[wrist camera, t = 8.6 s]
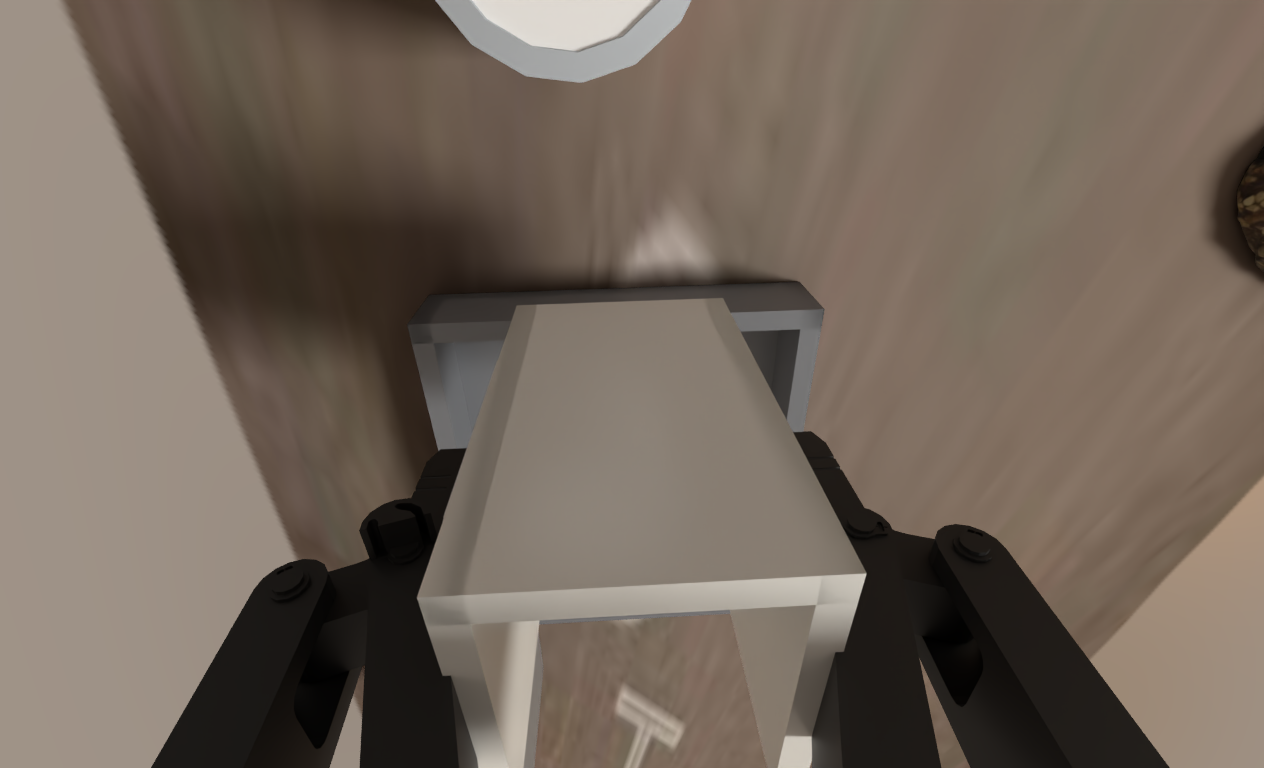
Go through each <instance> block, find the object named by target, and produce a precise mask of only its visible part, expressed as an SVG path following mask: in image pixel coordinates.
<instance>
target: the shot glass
mask: <svg viewBox="0 0 1264 768" xmlns="http://www.w3.org/2000/svg"><path fill="white" fill-rule="evenodd" d="M435 1H436V2H437V3H438V4H439V6H440V7H441V8H442V9H443V10H444V12H445V13H446V14H447V15H448V17H449V18H450V19H451V20H452V21H453V23H454V24H455V25H456V26H457V27H458V29H459V30H460V31H461V32H462V34H463V35H464V36H465V37H466V38H467V40H468V41H469V42H470V43H471V45H473V46H475V47H477V48H478V49H480V50H482V51H483V52H485V53H487V54H489V55H490V56H492V57H494V58H495V59H497V60H499V61H500V62H502V63H504V64H506V65H507V66H509V67H511V68H512V69H514V70H516V71H518V72H519V73H521V74H523V75H524V76H528V77H537V78H545V79H554V80H562V81H571V82H580V83H583V82H586V81H589V80H592V79H595V78H597V77H600V76H603V75H606V74H609V73H612V72H615V71H618V70H621V69H623V68H626V67H629V66H632V65H635V64H636V63H637V62H639V61H640V60H641V59H642V58H643V57H644V56H645V55H646V54H647V53H648V52H649V51H650V50H651V49H652V48H653V47H655V46H656V45H657V44H658V43H659V42H660V41H661V40H662V39H663V38H664V37H665V36H666V35H667V34H668V33H669V32H670V31H672V30H673V29H674V28H675V27H676V26H677V25H678V24H679V23H680V22H681V20H682V18H683V16H684V14H685V12H686V10H687V8H688V6H689V4H690V2H691V0H435Z"/></svg>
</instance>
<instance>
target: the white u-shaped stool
mask: <svg viewBox="0 0 1264 768" xmlns="http://www.w3.org/2000/svg"><path fill="white" fill-rule="evenodd" d="M866 574H867V573H866V571H865V569H864V567H863V565H862V564H861V562H860V560H859V558H858V556H857V554H856V552H855V550H854V548H853V546H852V544H851V542H850V541H849V539H848V537H847V535H846V533H845V531H844V529H843V527H842V525H841V523H840V521H839V519H838V518H837V516H836V514H835V512H834V510H833V508H832V506H831V504H830V502H829V500H828V498H827V497H826V495H825V493H824V491H823V489H822V487H821V485H820V483H819V481H818V479H817V477H816V475H815V474H814V472H813V470H812V468H811V466H810V464H809V462H808V460H807V458H806V456H805V454H804V452H803V451H802V449H801V447H800V445H799V443H798V441H797V439H796V437H795V435H794V433H793V431H792V429H791V428H790V426H789V424H788V422H787V420H786V418H785V416H784V414H783V412H782V410H781V408H780V407H779V405H778V403H777V401H776V399H775V397H774V395H773V393H772V391H771V389H770V387H769V385H768V384H767V382H766V380H765V378H764V376H763V374H762V372H761V370H760V368H759V366H758V364H757V362H756V361H755V359H754V357H753V355H752V353H751V351H750V349H749V347H748V345H747V343H746V341H745V340H744V338H743V336H742V334H741V332H740V330H739V328H738V326H737V324H736V322H735V320H734V318H733V317H732V315H731V313H730V311H729V309H728V307H727V305H726V303H725V301H724V299H723V298H708V299H681V300H653V301H625V302H597V303H570V304H542V305H517V306H516V309H515V312H514V315H513V318H512V321H511V324H510V327H509V330H508V332H507V335H506V338H505V341H504V344H503V347H502V350H501V353H500V356H499V359H498V362H497V365H496V368H495V370H494V373H493V376H492V379H491V382H490V385H489V388H488V391H487V394H486V397H485V400H484V403H483V406H482V408H481V411H480V414H479V417H478V420H477V423H476V426H475V429H474V432H473V435H472V438H471V441H470V444H469V447H468V449H467V452H466V455H465V458H464V461H463V464H462V467H461V470H460V473H459V476H458V479H457V482H456V485H455V487H454V490H453V493H452V496H451V499H450V502H449V505H448V508H447V511H446V514H445V517H444V520H443V523H442V525H441V528H440V531H439V534H438V537H437V540H436V543H435V546H434V549H433V552H432V555H431V558H430V561H429V564H428V566H427V569H426V572H425V575H424V578H423V581H422V584H421V587H420V590H419V593H418V596H417V600H418V603H419V606H420V609H421V612H422V615H423V618H424V621H425V624H426V627H427V630H428V633H429V636H430V639H431V642H432V645H433V648H434V651H435V654H436V657H437V660H438V663H439V666H440V669H441V672H442V675H443V676H450V675H451V677H452V681H453V684H454V687H455V690H456V693H457V696H458V699H459V703H460V706H461V709H462V712H463V715H464V718H465V721H466V725H467V728H468V731H469V734H470V737H471V740H472V743H473V747H474V750H475V753H476V756H477V760H478V768H523V767H524V758H525V749H526V740H527V730H528V721H529V712H530V703H531V694H532V684H533V675H534V666H535V657H536V647H537V638H538V629H539V620H556V619H574V618H592V617H610V616H628V615H645V614H663V613H681V612H699V611H717V610H730V614H731V618H732V622H733V626H734V631H735V635H736V639H737V643H738V647H739V652H740V656H741V660H742V664H743V669H744V673H745V677H746V681H747V685H748V690H749V694H750V698H751V702H752V706H753V711H754V715H755V719H756V723H757V728H758V732H759V736H760V740H761V744H762V749H763V753H764V757H765V761H766V766H767V768H809V767H810V764H811V761H812V733H813V730H814V726H815V723H816V719H817V715H818V712H819V708H820V705H821V701H822V698H823V694H824V691H825V687H826V684H827V680H828V676H829V673H830V669H831V666H832V662H833V659H834V655H835V652H844V649H845V645H846V642H847V638H848V635H849V632H850V628H851V625H852V621H853V618H854V615H855V611H856V608H857V605H858V601H859V598H860V594H861V591H862V588H863V584H864V581H865V577H866Z"/></svg>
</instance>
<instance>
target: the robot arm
mask: <svg viewBox="0 0 1264 768" xmlns="http://www.w3.org/2000/svg"><path fill="white" fill-rule="evenodd" d="M497 362H498V361H497ZM497 362H496V365H497ZM496 365H495V368H496ZM495 368H494V370H495ZM493 373H494V371H493ZM492 376H493V374H492ZM492 376H491V379H492ZM491 379H490V382H491ZM490 382H489V385H490ZM489 385H488V388H489ZM488 388H487V391H488ZM487 391H486V394H487ZM486 394H485V397H486ZM485 397H484V400H485ZM484 400H483V403H484ZM483 403H482V406H483ZM482 406H481V408H482ZM481 408H480V411H481ZM480 411H479V414H480ZM479 414H478V417H479ZM478 417H477V420H478ZM477 420H476V423H477ZM476 423H475V426H476ZM475 426H474V429H475ZM474 429H473V432H474ZM473 432H472V435H473ZM793 433H794V435H795V437H796V439H797V441H798V443H799V445H800V447H801V449H802V451H803V452H804V454H805V456H806V458H807V460H808V462H809V464H810V466H811V468H812V470H813V472H814V474H815V475H816V477H817V479H818V481H819V483H820V485H821V487H822V489H823V491H824V493H825V495H826V497H827V498H828V500H829V502H830V504H831V506H832V508H833V510H834V512H835V514H836V516H837V518H838V519H839V521H840V523H841V525H842V527H843V529H844V531H845V533H846V535H847V537H848V539H849V541H850V542H851V544H852V546H853V548H854V550H855V552H856V554H857V556H858V558H859V560H860V562H861V564H862V565H863V567H864V569H865V571H866V573H867V574H866V577H865V581H864V584H863V588H862V591H861V594H860V598H859V601H858V605H857V608H856V611H855V615H854V618H853V621H852V625H851V628H850V632H849V635H848V638H847V642H846V645H845V649H844V652H835V655H834V659H833V662H832V666H831V669H830V673H829V676H828V680H827V684H826V687H825V691H824V694H823V698H822V701H821V705H820V708H819V712H818V715H817V719H816V723H815V726H814V730H813V733H812V768H941V764H940V759H939V754H938V749H937V744H936V739H935V734H934V729H933V724H932V719H931V714H930V709H929V704H928V699H927V694H926V690H925V685H924V680H923V675H922V670H921V665H920V660H921V662H922V664H923V666H924V669H925V671H926V673H927V675H928V677H929V679H930V681H931V684H932V686H933V688H934V690H935V692H936V694H937V696H938V699H939V701H940V703H941V705H942V707H943V709H944V712H945V714H946V716H947V718H948V720H949V722H950V724H951V727H952V729H953V731H954V733H955V735H956V737H957V740H958V742H959V744H960V746H961V748H962V750H963V752H964V755H965V757H966V759H967V761H968V763H969V765H970V767H971V768H1169V766H1168V765H1167V764H1166V762H1165V761H1164V760H1163V758H1162V757H1161V756H1160V754H1159V753H1158V752H1157V750H1156V749H1155V748H1154V746H1153V745H1152V744H1151V742H1150V741H1149V740H1148V738H1147V737H1146V736H1145V734H1144V733H1143V732H1142V730H1141V729H1140V727H1139V726H1138V725H1137V724H1136V722H1135V721H1134V719H1133V718H1132V717H1131V715H1130V714H1129V713H1128V711H1127V710H1126V709H1125V707H1124V706H1123V705H1122V703H1121V702H1120V701H1119V699H1118V698H1117V697H1116V695H1115V694H1114V693H1113V691H1112V690H1111V689H1110V687H1109V686H1108V685H1107V683H1106V682H1105V681H1104V679H1103V678H1102V677H1101V675H1100V674H1099V673H1098V671H1097V670H1096V669H1095V667H1094V666H1093V665H1092V663H1091V662H1090V661H1089V659H1088V658H1087V656H1086V655H1085V654H1084V652H1083V651H1082V650H1081V648H1080V647H1079V646H1078V644H1077V643H1076V642H1075V640H1074V639H1073V638H1072V636H1071V635H1070V634H1069V632H1068V631H1067V630H1066V628H1065V627H1064V626H1063V624H1062V623H1061V622H1060V620H1059V619H1058V618H1057V616H1056V615H1055V614H1054V612H1053V611H1052V610H1051V608H1050V607H1049V606H1048V604H1047V603H1046V602H1045V600H1044V599H1043V598H1042V596H1041V595H1040V594H1039V592H1038V591H1037V590H1036V588H1035V587H1034V585H1033V584H1032V583H1031V581H1030V580H1029V579H1028V577H1027V576H1026V575H1025V573H1024V572H1023V571H1022V569H1021V568H1020V567H1019V565H1018V564H1017V563H1016V561H1015V560H1014V559H1013V557H1012V556H1011V555H1010V553H1009V552H1008V551H1007V549H1006V548H1005V547H1004V546H1003V545H1002V544H1001V543H1000V542H999V541H998V540H997V539H996V538H994V537H992V536H991V535H989V534H987V533H986V532H984V531H982V530H979V529H976V528H974V527H971V526H966V525H958V524H954V525H948V526H944V527H943V528H941V529H940V530H938V531H937V534H936V537H935V539H930V538H925V537H920V536H915V535H910V534H905V533H901V532H897V531H894V530H892V528H891V526H890V524H889V523H888V522H887V521H886V520H885V519H884V518H883V517H882V516H881V515H879V514H877V513H875V512H873V511H871V510H870V509H866V508H864V507H863V505H862V503H861V501H860V500H859V498H858V496H857V495H856V493H855V491H854V490H853V488H852V486H851V485H850V483H849V481H848V480H847V478H846V476H845V474H844V473H843V471H842V470H840V466H839V464H838V463H837V461H836V459H834V456H833V454H832V453H831V451H830V449H829V447H828V446H827V444H826V443H825V442H824V441H823V440H821V439H820V438H819V437H818V436H816V435H815V434H814V433H812V432H811V431H809V432H793ZM472 435H471V438H472ZM471 438H470V440H469V443H468V446H467V448H458V449H440V450H439V451H438V452H437V453H436V454H435V455H434V456H433V457H432V458H431V459H430V460H429V461H428V462H427V463H426V466H425V468H424V470H423V473H422V475H421V479H419V482H418V484H417V486H416V491H414V493H413V496H412V498H411V499H409V498H408V499H400V500H394V501H392V502H389V503H386V504H383V505H381V506H380V507H378V508H377V509H375V510H374V511H372V512H371V513H370V514H369V515H368V516H367V517H366V518H365V519H364V520H363V522H362V525H361V528H360V530H359V531H360V534H361V537H362V539H363V542H364V544H365V547H366V550H367V552H368V555H369V559H367V560H365V561H362V562H360V563H357V564H354V565H350V566H347V567H344V568H340V569H337V570H334V571H330V572H328V571H327V569H326V567H325V564H323V563H321V562H319V561H317V560H310V559H302V560H298V561H294V562H290V563H287V564H285V565H283V566H281V567H279V568H277V569H275V570H274V571H272V572H271V573H270V574H268V575H267V576H266V577H264V578H263V579H262V580H261V581H260V583H259V584H258V585H257V586H256V588H255V589H254V590H253V592H252V594H251V595H250V597H249V599H248V601H247V602H246V604H245V606H244V608H243V609H242V611H241V613H240V614H239V616H238V618H237V620H236V621H235V623H234V625H233V627H232V628H231V630H230V632H229V634H228V636H227V637H226V639H225V640H224V642H223V644H222V646H221V647H220V649H219V651H218V653H217V654H216V656H215V658H214V660H213V662H212V663H211V665H210V667H209V668H208V670H207V672H206V673H205V675H204V677H203V679H202V681H201V682H200V684H199V686H198V687H197V689H196V691H195V693H194V694H193V696H192V698H191V699H190V701H189V703H188V705H187V707H186V708H185V710H184V712H183V713H182V715H181V717H180V718H179V720H178V722H177V724H176V725H175V727H174V729H173V731H172V732H171V734H170V736H169V738H168V740H167V741H166V743H165V744H164V747H163V748H162V750H161V752H160V753H159V755H158V757H157V758H156V760H155V762H154V764H153V765H152V767H151V768H329V767H330V764H331V761H332V758H333V755H334V752H335V749H336V746H337V743H338V740H339V736H340V733H341V730H342V727H343V723H344V721H345V718H346V715H347V711H348V708H349V706H350V702H351V699H352V696H353V693H354V690H355V687H356V684H357V681H358V678H359V675H360V672H361V668H362V666H364V665H365V675H364V695H363V714H362V733H361V753H360V768H478V760H477V756H476V753H475V750H474V747H473V743H472V740H471V737H470V734H469V731H468V728H467V725H466V721H465V718H464V715H463V712H462V709H461V706H460V703H459V699H458V696H457V693H456V690H455V687H454V684H453V681H452V677H451V675H450V676H443V675H442V672H441V669H440V666H439V663H438V660H437V657H436V654H435V651H434V648H433V645H432V642H431V639H430V636H429V633H428V630H427V627H426V624H425V621H424V618H423V615H422V612H421V609H420V606H419V603H418V600H417V596H418V593H419V590H420V587H421V584H422V581H423V578H424V575H425V572H426V569H427V566H428V564H429V561H430V558H431V555H432V552H433V549H434V546H435V543H436V540H437V537H438V534H439V531H440V528H441V525H442V523H443V520H444V517H445V514H446V511H447V508H448V505H449V502H450V499H451V496H452V493H453V490H454V487H455V485H456V482H457V479H458V476H459V473H460V470H461V467H462V464H463V461H464V458H465V455H466V452H467V449H468V447H469V444H470V441H471ZM919 658H920V660H919Z"/></svg>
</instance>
